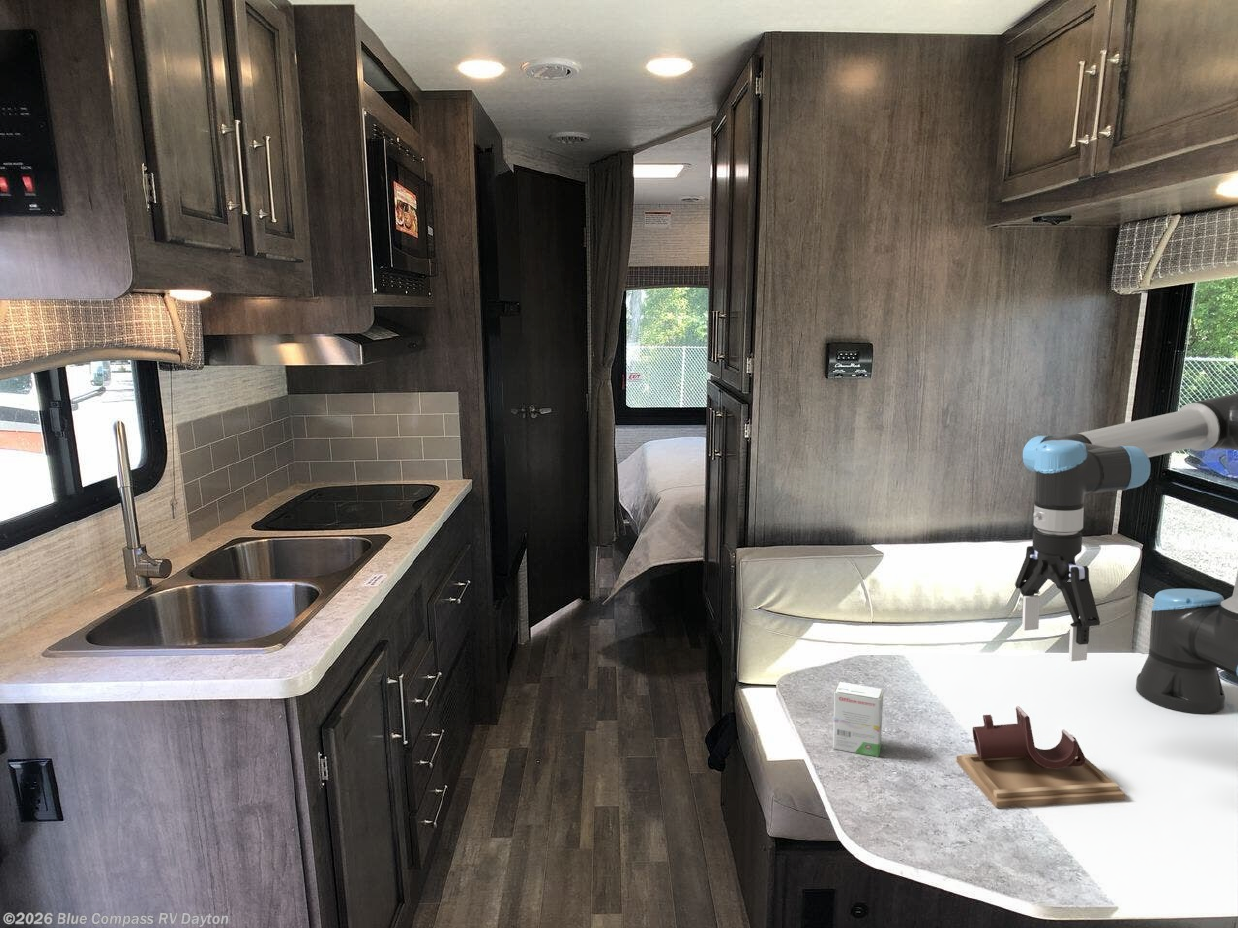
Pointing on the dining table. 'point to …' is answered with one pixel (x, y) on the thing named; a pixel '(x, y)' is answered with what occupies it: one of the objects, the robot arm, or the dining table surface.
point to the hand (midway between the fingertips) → (1052, 643)
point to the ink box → (857, 719)
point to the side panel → (1038, 782)
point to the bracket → (1024, 744)
